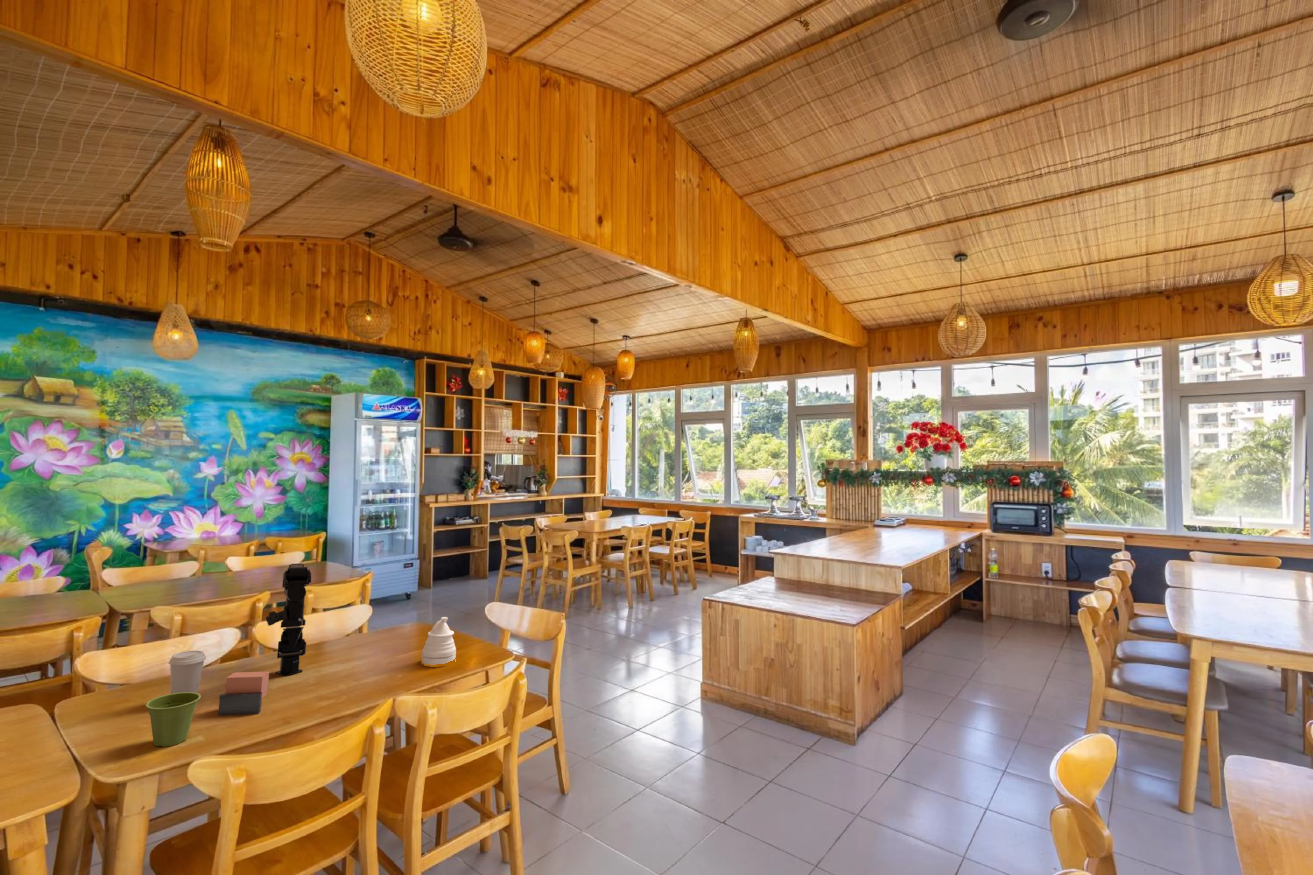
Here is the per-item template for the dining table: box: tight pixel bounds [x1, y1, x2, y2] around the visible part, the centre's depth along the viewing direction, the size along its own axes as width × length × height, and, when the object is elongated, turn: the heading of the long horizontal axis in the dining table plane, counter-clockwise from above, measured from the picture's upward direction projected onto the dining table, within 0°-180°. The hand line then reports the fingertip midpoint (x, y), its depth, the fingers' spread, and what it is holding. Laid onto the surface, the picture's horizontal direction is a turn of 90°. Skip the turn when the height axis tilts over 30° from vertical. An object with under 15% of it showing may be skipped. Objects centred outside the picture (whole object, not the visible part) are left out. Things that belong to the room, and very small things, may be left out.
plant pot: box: [145, 692, 201, 748], centre depth 164 cm, size 12×12×11 cm
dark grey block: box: [217, 692, 263, 716], centre depth 190 cm, size 14×11×6 cm
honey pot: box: [421, 616, 457, 665], centre depth 240 cm, size 13×13×18 cm
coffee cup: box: [168, 650, 207, 694], centre depth 192 cm, size 10×10×15 cm
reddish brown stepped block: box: [224, 671, 270, 705], centre depth 188 cm, size 5×10×10 cm, turn 102°
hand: (292, 648), depth 210 cm, fingers closed
